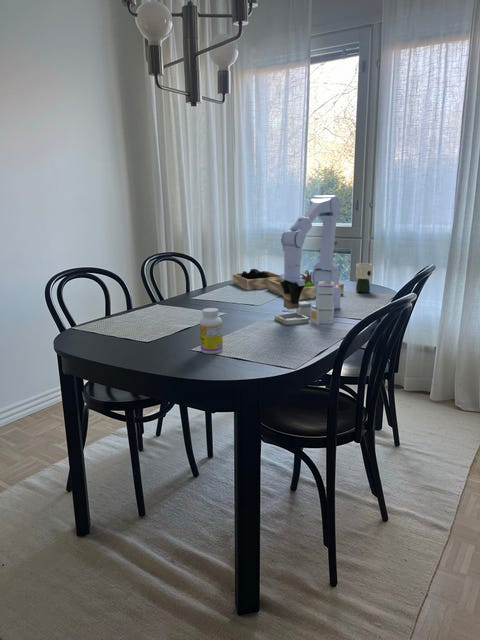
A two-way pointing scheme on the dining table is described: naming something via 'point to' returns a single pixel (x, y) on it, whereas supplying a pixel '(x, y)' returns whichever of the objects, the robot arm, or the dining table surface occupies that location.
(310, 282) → the plant
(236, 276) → the shallow wooden crate
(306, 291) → the oak planter frame
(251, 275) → the film camera
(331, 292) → the syrup box
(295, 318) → the parts tray
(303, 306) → the grey block
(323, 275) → the robot arm
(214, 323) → the supplement bottle
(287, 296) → the walnut block
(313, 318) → the label plate
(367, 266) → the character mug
